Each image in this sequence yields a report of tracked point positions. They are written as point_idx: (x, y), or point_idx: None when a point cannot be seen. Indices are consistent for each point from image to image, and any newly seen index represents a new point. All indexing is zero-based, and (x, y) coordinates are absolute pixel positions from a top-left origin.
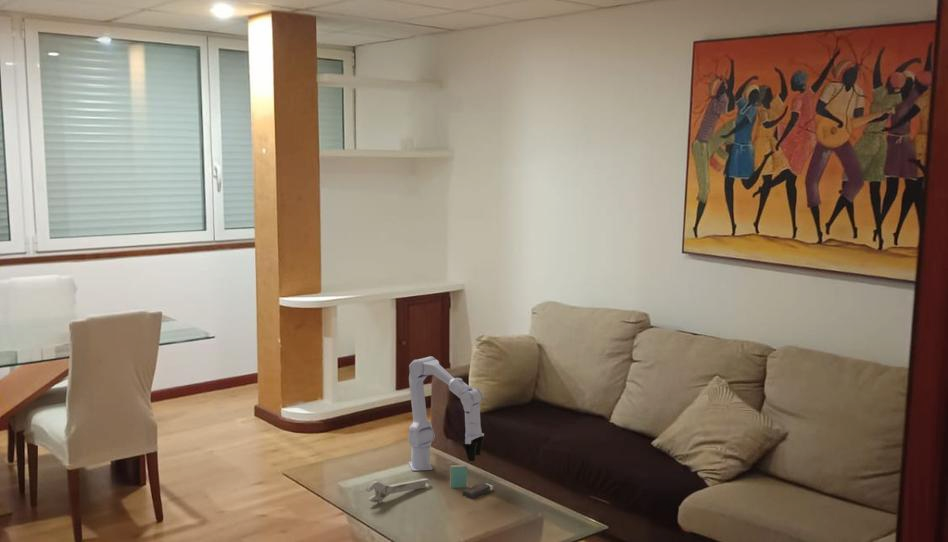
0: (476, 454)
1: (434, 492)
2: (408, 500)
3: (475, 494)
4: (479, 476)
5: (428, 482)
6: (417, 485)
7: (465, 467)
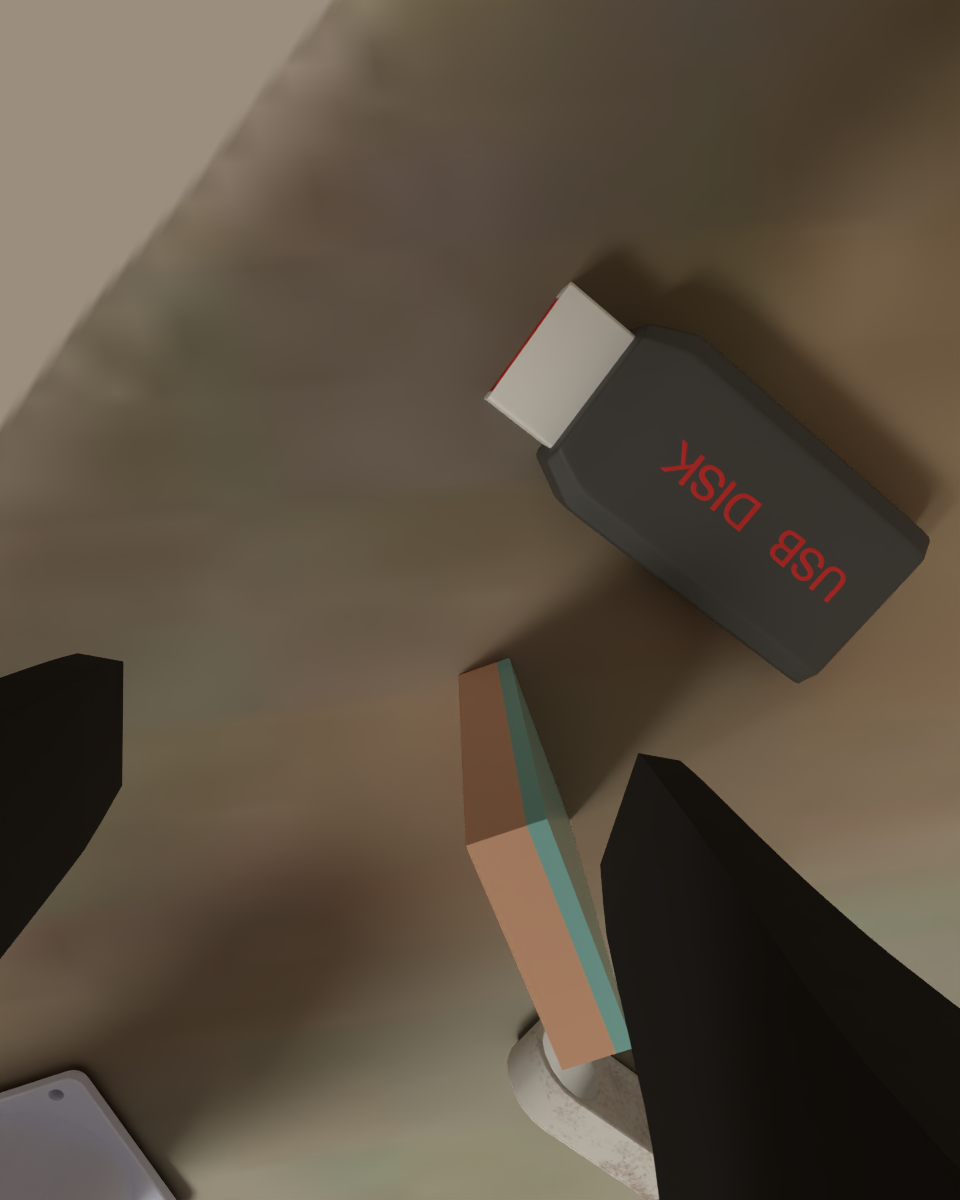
0: (113, 753)
1: None
2: None
3: (907, 518)
4: (96, 529)
5: (530, 1054)
6: None
7: (550, 825)
